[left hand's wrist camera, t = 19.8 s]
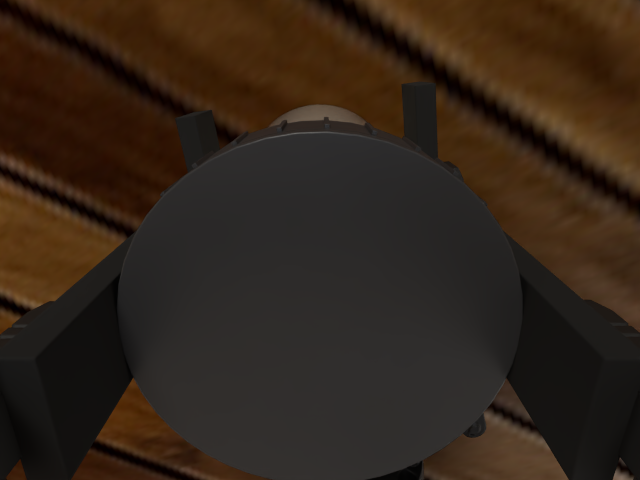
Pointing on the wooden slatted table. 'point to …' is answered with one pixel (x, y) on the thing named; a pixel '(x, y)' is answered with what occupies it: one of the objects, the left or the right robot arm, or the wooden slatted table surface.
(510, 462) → the wooden slatted table surface
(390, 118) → the wooden slatted table surface
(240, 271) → the lid
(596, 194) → the wooden slatted table surface
